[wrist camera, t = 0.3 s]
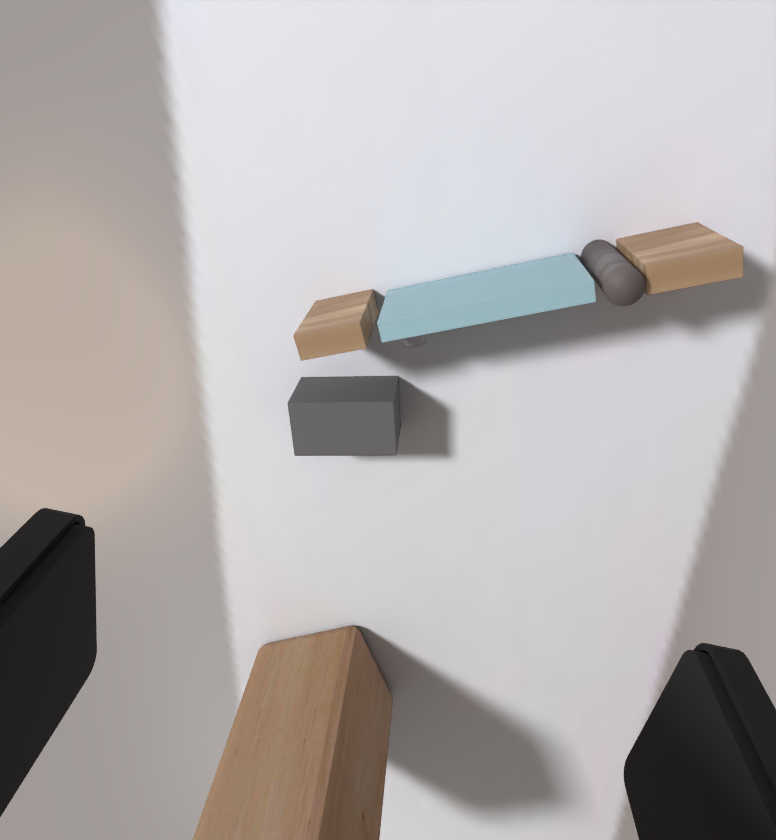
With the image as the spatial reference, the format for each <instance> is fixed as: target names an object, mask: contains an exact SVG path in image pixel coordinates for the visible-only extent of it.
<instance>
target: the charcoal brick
mask: <svg viewBox="0 0 776 840" xmlns="http://www.w3.org/2000/svg"><path fill="white" fill-rule="evenodd" d="M288 409H289V416H290V424H291V431H292V439H293V446H294V454H295V456H384V455H396V453H397V447H398V441H399V434H400V428H401V420H400V400H399V380H398V376H355V377H301V379H300V381H299V383H298V385H297V387H296V388H295V390H294V392H293V394H292V396H291V398H290V400H289V401H288Z"/></svg>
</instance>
